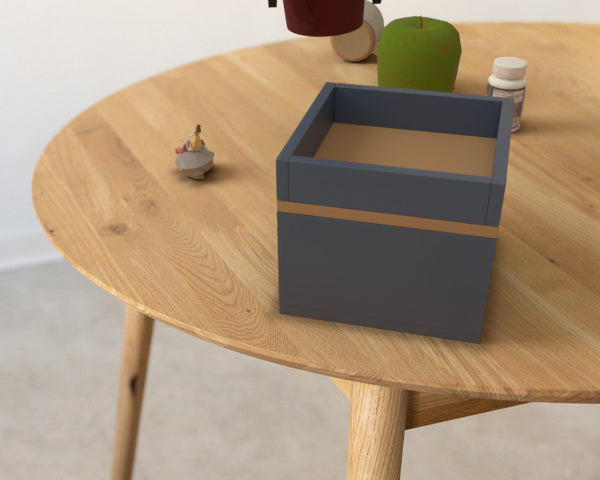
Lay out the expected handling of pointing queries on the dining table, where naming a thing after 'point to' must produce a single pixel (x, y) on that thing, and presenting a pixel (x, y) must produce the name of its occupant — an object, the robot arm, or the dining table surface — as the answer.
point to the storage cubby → (393, 208)
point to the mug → (323, 16)
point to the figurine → (194, 156)
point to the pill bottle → (509, 84)
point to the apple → (418, 54)
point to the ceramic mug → (361, 36)
